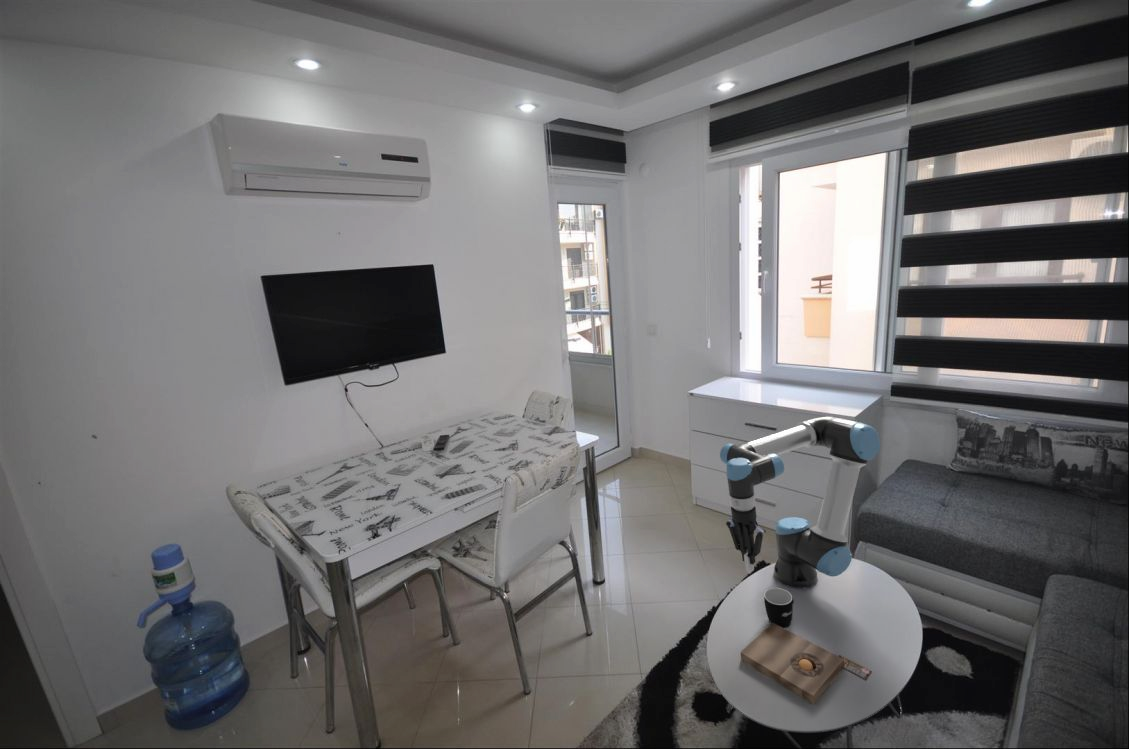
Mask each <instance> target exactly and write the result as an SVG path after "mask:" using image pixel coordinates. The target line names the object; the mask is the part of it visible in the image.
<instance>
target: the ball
mask: <svg viewBox="0 0 1129 749" xmlns="http://www.w3.org/2000/svg"><path fill="white" fill-rule="evenodd" d="M798 666H799V667H800V668H801V669H803V670H805V671H814V669H813V666H812V664H811V662H810V661H808V660H806V659H802V660H800V661H799V663H798Z"/></svg>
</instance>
